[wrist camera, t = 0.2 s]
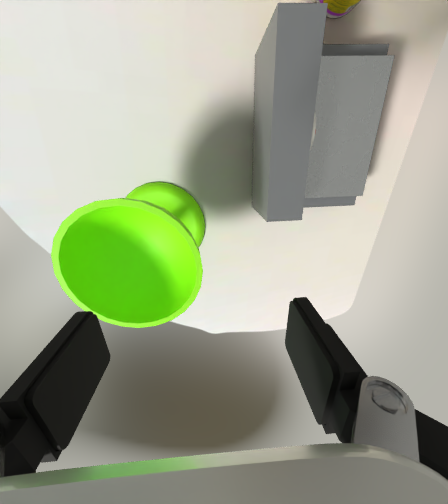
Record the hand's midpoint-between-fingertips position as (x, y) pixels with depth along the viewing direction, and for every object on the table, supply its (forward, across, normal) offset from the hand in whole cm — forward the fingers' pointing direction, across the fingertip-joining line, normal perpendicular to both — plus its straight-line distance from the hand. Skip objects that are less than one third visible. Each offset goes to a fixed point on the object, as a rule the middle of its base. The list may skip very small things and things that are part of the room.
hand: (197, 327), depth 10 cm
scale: (+31, -18, -10) cm, 37 cm away
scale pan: (+27, -20, -11) cm, 35 cm away
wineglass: (+31, +8, +4) cm, 32 cm away
